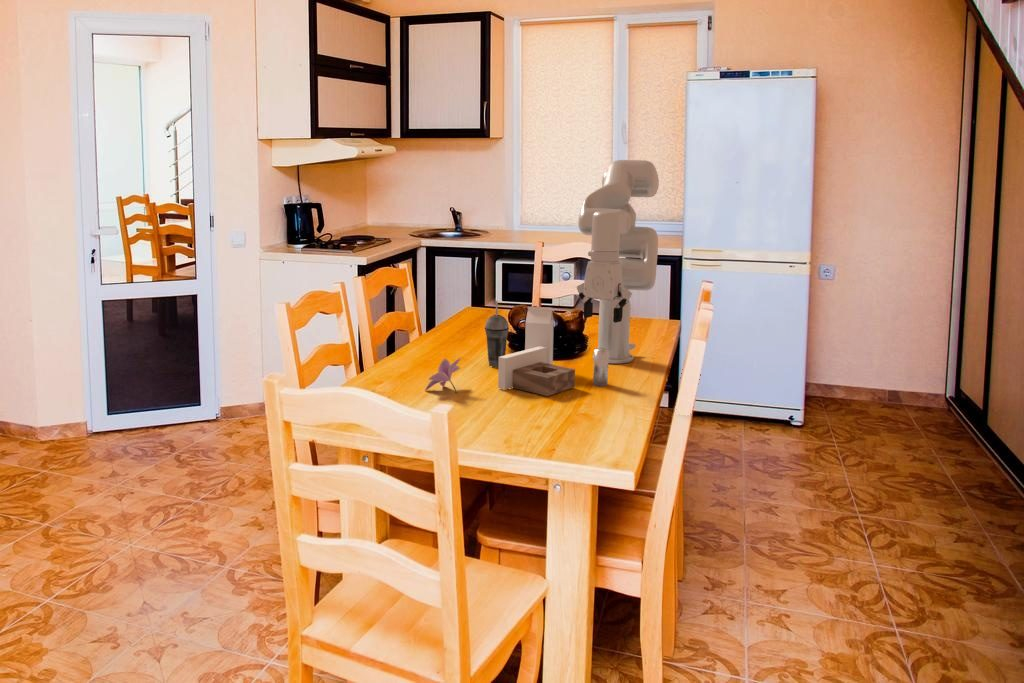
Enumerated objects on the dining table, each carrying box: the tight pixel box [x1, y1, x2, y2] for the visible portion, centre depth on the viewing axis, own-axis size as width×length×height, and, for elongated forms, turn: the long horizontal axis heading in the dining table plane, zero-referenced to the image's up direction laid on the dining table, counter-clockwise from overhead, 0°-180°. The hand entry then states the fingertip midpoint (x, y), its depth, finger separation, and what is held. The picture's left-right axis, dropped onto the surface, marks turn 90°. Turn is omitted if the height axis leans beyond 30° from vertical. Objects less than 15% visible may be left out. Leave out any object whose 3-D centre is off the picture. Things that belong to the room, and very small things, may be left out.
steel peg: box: [592, 347, 609, 387], centre depth 248 cm, size 4×4×10 cm
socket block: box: [512, 362, 576, 397], centre depth 244 cm, size 12×12×5 cm
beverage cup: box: [484, 300, 510, 368], centre depth 266 cm, size 7×7×20 cm
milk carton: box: [524, 306, 555, 365], centre depth 261 cm, size 7×7×19 cm
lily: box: [424, 357, 462, 394], centre depth 240 cm, size 12×12×10 cm
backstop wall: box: [497, 346, 547, 391], centre depth 248 cm, size 18×2×9 cm, turn 140°
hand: (602, 319), depth 244 cm, fingers open, 9 cm apart
